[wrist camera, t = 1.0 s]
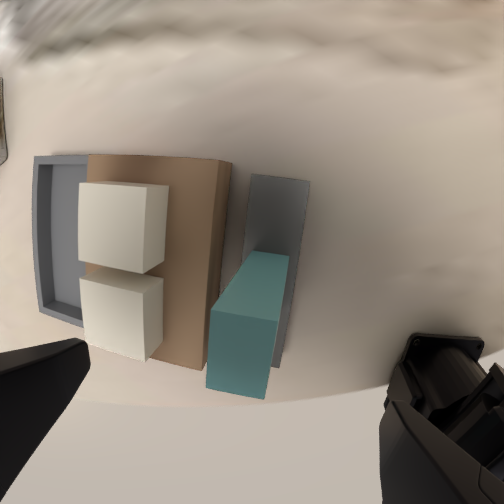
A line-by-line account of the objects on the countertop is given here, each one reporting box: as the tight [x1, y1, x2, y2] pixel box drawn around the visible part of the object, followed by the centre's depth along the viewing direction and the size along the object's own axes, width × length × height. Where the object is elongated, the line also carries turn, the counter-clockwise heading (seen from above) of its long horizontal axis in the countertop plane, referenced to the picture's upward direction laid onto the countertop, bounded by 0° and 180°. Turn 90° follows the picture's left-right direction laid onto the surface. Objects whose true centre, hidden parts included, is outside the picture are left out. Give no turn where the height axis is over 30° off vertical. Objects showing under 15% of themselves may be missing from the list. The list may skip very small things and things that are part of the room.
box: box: [32, 155, 89, 328], centre depth 20 cm, size 6×12×2 cm, turn 173°
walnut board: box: [85, 155, 232, 371], centre depth 18 cm, size 8×12×3 cm, turn 173°
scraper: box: [206, 174, 310, 399], centre depth 14 cm, size 3×11×10 cm, turn 173°
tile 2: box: [79, 266, 164, 362], centre depth 16 cm, size 4×4×2 cm
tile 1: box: [78, 181, 169, 274], centre depth 15 cm, size 4×4×2 cm
